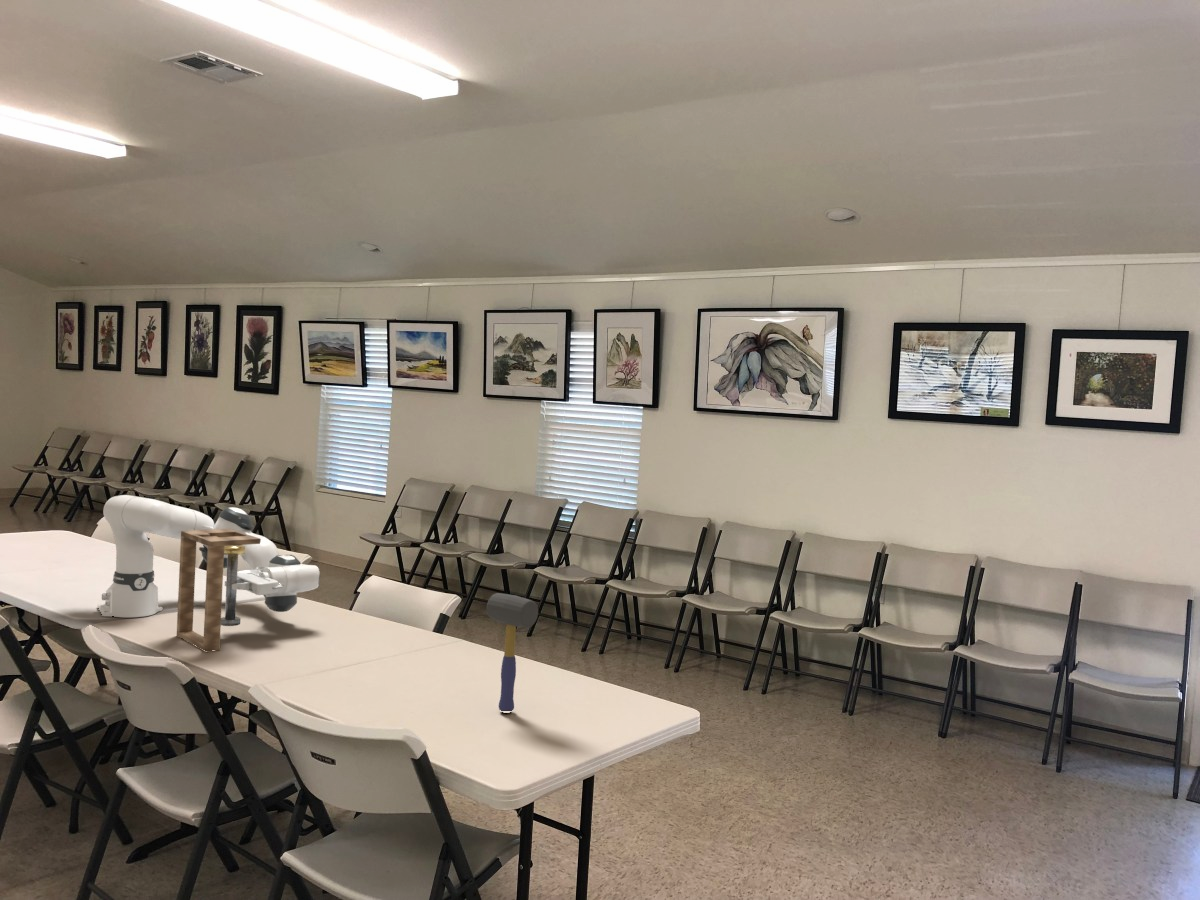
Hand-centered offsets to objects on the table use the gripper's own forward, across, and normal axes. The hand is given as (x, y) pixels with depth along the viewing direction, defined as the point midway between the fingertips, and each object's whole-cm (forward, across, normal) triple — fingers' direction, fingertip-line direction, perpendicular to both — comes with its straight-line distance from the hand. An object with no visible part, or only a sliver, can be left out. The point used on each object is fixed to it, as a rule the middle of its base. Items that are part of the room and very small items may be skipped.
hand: (228, 585), depth 288 cm
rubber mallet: (-29, -101, -17) cm, 106 cm away
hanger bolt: (-1, 0, -12) cm, 12 cm away
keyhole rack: (+4, 0, -17) cm, 17 cm away
